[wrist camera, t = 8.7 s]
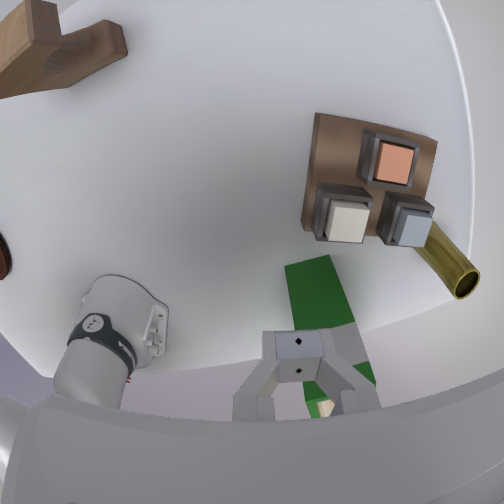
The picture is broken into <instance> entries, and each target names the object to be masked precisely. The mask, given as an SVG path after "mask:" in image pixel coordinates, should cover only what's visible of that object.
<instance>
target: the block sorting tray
mask: <svg viewBox="0 0 504 504" xmlns="http://www.w3.org/2000/svg"><path fill="white" fill-rule="evenodd" d="M380 140H382V141H387V142H391V143H396V144H400V145H403V146H405V147H407V148H410V149H412V150H414V153H413V158H412V163H411V168H410V172H409V177H408V181H407V184H403V183H397V182H392V181H386V180H380V179H376V178H375V177H374V176H373V174H374V169H375V164H376V158H377V153H378V147H379V141H380ZM437 143H438V141H435V140H433V139H430V138H428V137H425V136H421V135H418V134H415V133H411V132H407V131H404V130H400V129H396V128H392V127H388V126H384V125H380V124H375V123H371V122H366V121H361V120H356V119H351V118H345V117H340V116H334V115H328V114H321V113H315V118H314V127H313V136H312V144H311V153H310V160H309V168H308V176H307V183H306V190H305V197H304V204H303V211H302V217H301V223H302V226H303V229H304V231H311V232H313V233H314V236H315V238H316V241H328V238H327V236H326V234H325V232H324V230H323V229H324V224H325V219H326V214H327V208H328V203H329V198H333V199H343V200H352V201H361V202H363V203H364V204H365V205H366V207H367V208H368V209H369V210H370V212H369V216H368V220H367V224H366V228H365V232H364V235H363V239H362V243H360V244H363V240H364V236H365V235H367V236H379V237H380V238H381V240H382V241H383V242H384V244H385V245H389V246H400V245H398V244H397V243H396V242H395V240H394V239H393V238H392V235H393V232H394V228H395V225H396V222H397V218H398V215H399V211H400V207H407V208H413V209H420V210H424V211H425V212H426V213H428V214H429V215H430V216H431V217H432V215H433V212H434V207H433V206H432V205H431V204H430V203H428V202H427V201H426V200H425V195H426V191H427V188H428V184H429V180H430V176H431V172H432V167H433V163H434V158H435V153H436V149H437ZM329 242H342V241H329ZM345 243H357V242H345ZM403 247H413V246H403ZM416 248H421V247H416Z"/></svg>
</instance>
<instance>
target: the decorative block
mask: <svg viewBox="0 0 504 504" xmlns="http://www.w3.org/2000/svg"><path fill="white" fill-rule="evenodd" d="M127 53H128V52H127V49H126V45H125V41H124V37H123V33H122V29H121V25H118V24H116V23H113V22H111V21H108V20H102V21H100V22H98V23H96V24H93V25H91V26H89V27H87V28H84V29H81V30H78V31H75V32H73V33H69V34H65V35H61V29H60V23H59V17H58V12H57V4H54V3H50V2H46V1H42V0H24V1H23V2H22V3H20V4H19V5H18V6H17V7H16V8H15V9H14V10H13V11H12V12H10V14H8V15H7V16H6V17H5V18H4V19H3V20H2V21H1V22H0V99H4V98H8V97H12V96H17V95H22V94H27V93H33V92H39V91H46V90H53V89H61V88H68V87H70V86H71V85H73V84H75V83H76V82H78V81H80V80H81V79H83V78H85V77H86V76H88V75H90V74H92V73H94V72H95V71H97V70H99V69H101V68H103V67H105V66H107V65H108V64H110V63H112V62H114V61H116V60H118V59H120V58H122V57H125V56H126V55H127Z"/></svg>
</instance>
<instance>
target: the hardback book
mask: <svg viewBox="0 0 504 504" xmlns="http://www.w3.org/2000/svg"><path fill="white" fill-rule="evenodd" d="M285 272H286V278H287V284H288V290H289V296H290V302H291V308H292V314H293V321H294V327H295V331H296V330H309V329H325V328H329V329H330V331H331V335H332V338H333V342H334V346H335V349H336V353H337V356H341V357H342V358H343V359H345V360H346V361H347V362H348V363H349V364H350V365H352V366H353V367H354V368H355V369H356V370H357V371H358V372H360V373H361V374H362V375H363V376H364V377H365V378H367V379H368V380H369V381H370V382H371V383H373V384H374V385H375V388H376V381H375V378H374V375H373V372H372V369H371V365H370V362H369V359H368V356H367V353H366V351H365V348H364V345H363V342H362V339H361V336H360V333H359V330H358V328H357V325H356V322H355V320H354V317H353V314H352V311H351V309H350V306H349V304H348V301H347V298H346V296H345V293H344V291H343V288H342V286H341V283H340V280H339V278H338V276H337V273H336V271H335V268H334V266H333V263H332V261H331V258H330V256H329V255H325V256H321V257H317V258H314V259H310V260H306V261H302V262H298V263H295V264H291V265H287V266H285ZM303 388H304V395H305V402H306V405H307V407H308V410H309V413H310V415H311V418H320V417H329V415H330V413H331V411H332V410H333V408H334V406H335V404H334V403H333V402H332V401H331V400H330V398H329V397H328V396H327V395H326V394H325V393H324V391H323V390H322V389H321V388H320V387H319V386H318V384H317V383H316V382H315V381H303Z"/></svg>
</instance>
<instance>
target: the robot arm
mask: <svg viewBox="0 0 504 504" xmlns="http://www.w3.org/2000/svg"><path fill="white" fill-rule="evenodd" d="M82 304H83V305H82V308H81V310H80V312H79V314H78V317H77V319H76V322H75V324H74V330H73V332H71V334H70V336H69V340H68V343H67V349H66V351H65V353H64V356H63V358H62V360H61V362H60V364H59V366H58V368H57V370H56V372H55V375H54V389H55V393H56V394H52V395H50V396H48V397H46V398H44V399H43V400H41V401H40V402H38V403H37V404H36V405H34V406H33V407H29V406H27V405H25V404H23V403H21V402H19V401H17V400H15V399H13V398H11V397H9V396H7V395H1V396H0V479H1V482H2V486H3V490H2V497H1V504H504V368H503V369H501V370H498V371H496V372H494V373H491V374H489V375H487V376H484V377H482V378H479V379H477V380H474V381H472V382H469V383H466V384H464V385H461V386H458V387H455V388H453V389H449V390H446V391H443V392H440V393H437V394H434V395H430V396H427V397H424V398H420V399H416V400H413V401H409V402H405V403H401V404H397V405H392V406H388V407H383V408H381V405H380V402H379V398H378V395H377V392H376V388H375V385H374V384H373V383H371V382H370V381H369V380H368V379H367V378H365V377H364V376H363V375H362V374H361V373H360V372H358V371H357V370H356V369H355V368H354V367H353V366H352V365H350V364H349V363H348V362H347V361H346V360H345V359H343V358H342V357H341V356H337V353H336V349H335V346H334V342H333V338H332V335H331V331H330V329H329V328H325V329H309V330H296V331H263V336H262V361H260V362H259V364H258V365H257V366H256V367H255V369H254V370H253V371H252V373H251V374H250V375H249V377H248V378H247V379H246V380H245V382H244V383H243V384H242V386H241V387H240V388H239V390H238V391H237V392H236V393H235V395H234V396H233V415H232V421H206V420H192V419H180V418H171V417H163V416H155V415H148V414H141V413H135V412H129V411H124V410H120V405H121V400H122V395H123V391H124V387H125V383H126V382H129V381H126V380H127V379H131V378H130V377H129V376H130V375H131V374H132V372H133V371H134V370H135V369H138V368H145V367H148V366H149V365H150V364H151V361H152V358H153V357H159V356H162V355H164V353H165V350H166V335H167V321H168V308H167V307H166V306H165V305H164V304H162V303H161V302H159V301H157V300H155V299H154V298H153V297H151V295H150V294H149V293H148V292H147V291H146V290H145V289H143V288H142V287H141V286H140V285H138V284H137V283H135V282H133V281H131V280H129V279H126V278H123V277H120V276H112V275H110V276H103V277H100V278H98V279H97V280H96V281H95V282H94V283H93V284H92V286H91V289H90V291H89V292H88V293H87V294H85V295H84V296H83V298H82ZM161 314H162V315H161ZM298 381H299V382H300V381H315V382H316V383H317V384H318V386H319V387H320V388H321V389H322V390H323V391H324V393H325V394H326V395H327V396H328V397H329V398H330V400H331V401H332V402H333V403H334V404H335V406H334V408H333V410H332V411H331V413H330V415H329V417H320V418H310V419H299V420H285V421H275V407H274V399H273V398H272V397H271V395H272V394H273V392H274V390H275V389H276V387H277V385H278V383H286V382H298ZM129 383H130V382H129Z"/></svg>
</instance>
